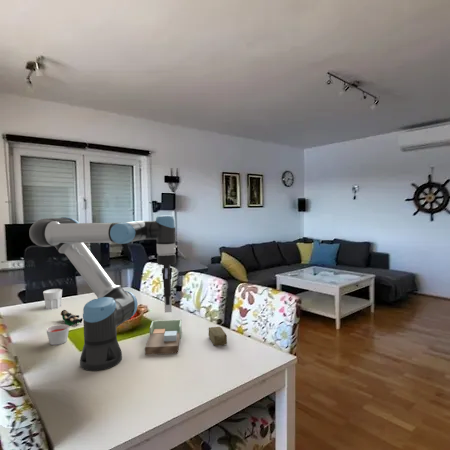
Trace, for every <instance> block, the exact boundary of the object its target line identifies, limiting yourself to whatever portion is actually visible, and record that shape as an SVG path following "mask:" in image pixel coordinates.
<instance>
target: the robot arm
mask: <svg viewBox="0 0 450 450" xmlns="http://www.w3.org/2000/svg"><path fill="white" fill-rule="evenodd" d="M28 231H29V233H28V234H29V239H30V240H31V242H32V243H33V244H35V245H36V246H39V247H44V248H49V247H55V248H56V251H57V252H58V253H59V254H64V255H65V256H66V257H67V258H68V260H69V262H70V263H71V264H72V265H73V266H74V268H75V269H76V271H77V272H78V274H80V276H81V277H82V279H83V280H84V281H85V283H86V284H87V285H88V286H89V288H90V289H91V291H92V292H93V294H94V295H95V296H96V298H94V299H91V300H89V301H87V302H86V303H85V304H84V306H83V310H82V318H83V319H82V321H83V323H82V324H83V340H84V341H83V343H84V344H83V347H82V351H81V353H80V358H79V366H80V368H81V369H82V370H84V371H92V372H93V371H94V372H95V371H96V372H97V371H103V370H107V369H110V368H112V367H114V366H116V365H118V364H120V362H121V361H122V360H123V353H122V349H121V346H120V345H119V341H118V338H117V337H118V336H117V327H118V326H121V325H122V324H123V323H125V322H127V321H129V320H130V319H131V318H132V317H134V315H136V313H137V311H138V306H139V305H138V299H137V297H136V296H135V294H134V293H133V292H131V291H127V290H124V288H123V287H122V285H121V284H120V285H119V284H115V283H114V281H113V280H112V279H111V277H110V276H109V274H107V271H106V270H105V269H104V268H103V266H101V264H100V263H99V261H98V259H96V258H95V256H94V255H93V253H92V252H91V250H90V249H89V248H88V247H87V246H86V244H85V243H87V244H90V243H91V244H92V243H93V244H96V243H97V244H99V243H100V244H101V243H103V244H105V243H106V244H108V243H113V244H115V243H116V244H119V245H121V244H123V245H125V244H129V243H133V242H138V241H142V240H143V241H144V240H156V254H157V256H156V259H157V260H156V261H157V262H156V263H157V265H159V266H163V268H161V275H162V280H163V295H162V298H164V301H163V302H164V313H172V311H173V309H172V304H173V303H172V295H174V293H173V292H172V275H173V274H172V273H173V267H171V265H175V264H176V263H177V254H176V252H177V250H176V248H178V245H176V219H175V217H174V216H173V215H157V216H156V217H155V220H135V221H134V220H133V221H127V222H126V221H125V222H86V223H84V222H83V223H81V222H79V221H78V220H76V219H75V218H72V217H64V216H62V217H58V218H57V217H54V218H51V217H50V218H41V219H37V220H36V221H35V222H33V224H32V225H31V226H30V228H29V230H28Z"/></svg>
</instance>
